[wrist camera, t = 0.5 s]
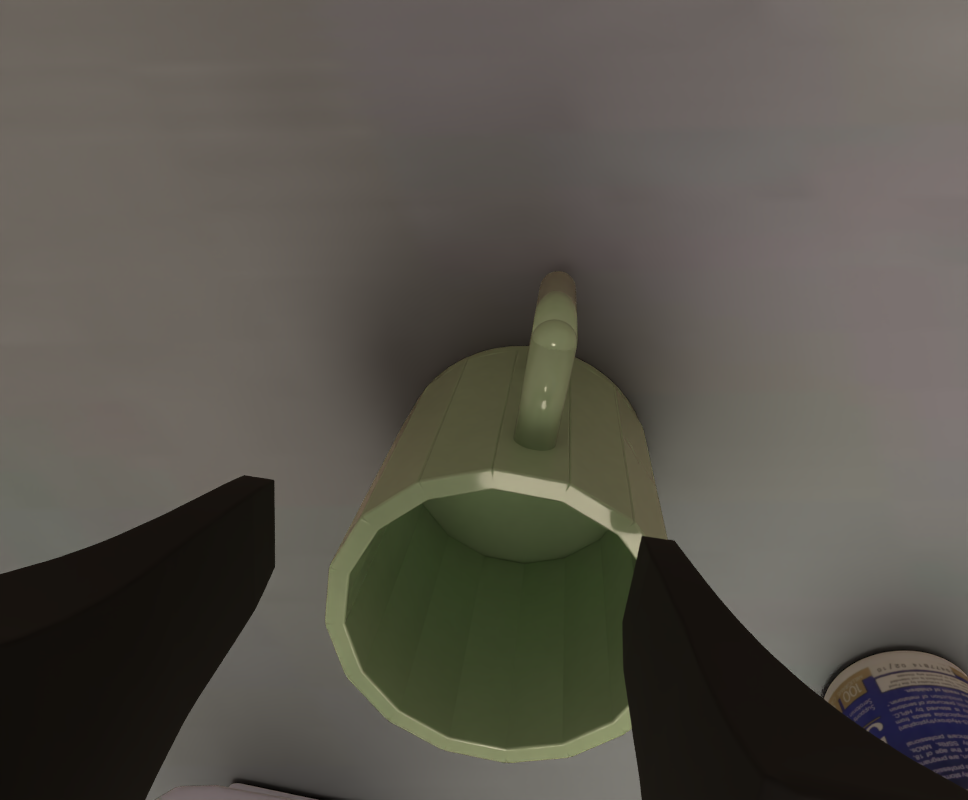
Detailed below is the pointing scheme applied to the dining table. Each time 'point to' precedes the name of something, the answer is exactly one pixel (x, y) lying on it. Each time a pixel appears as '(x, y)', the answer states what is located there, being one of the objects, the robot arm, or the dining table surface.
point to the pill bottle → (910, 707)
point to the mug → (501, 553)
